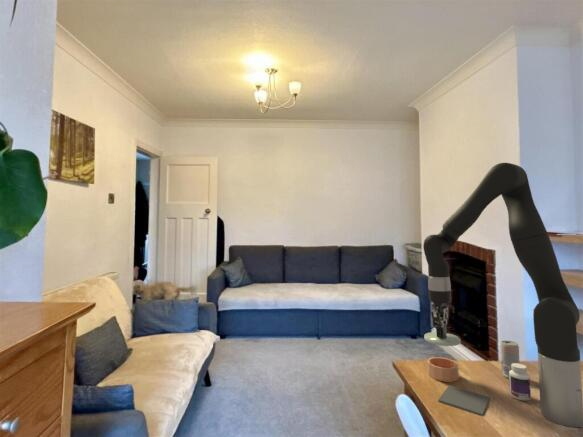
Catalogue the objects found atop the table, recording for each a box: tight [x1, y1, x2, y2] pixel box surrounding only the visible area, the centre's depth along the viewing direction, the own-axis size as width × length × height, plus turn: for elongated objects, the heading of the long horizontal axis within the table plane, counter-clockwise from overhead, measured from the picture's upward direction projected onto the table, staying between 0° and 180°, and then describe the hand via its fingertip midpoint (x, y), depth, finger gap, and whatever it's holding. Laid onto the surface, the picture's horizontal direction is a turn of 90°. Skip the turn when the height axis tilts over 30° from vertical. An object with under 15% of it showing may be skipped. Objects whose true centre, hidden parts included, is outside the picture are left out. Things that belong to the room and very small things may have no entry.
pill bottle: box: [508, 363, 532, 402], centre depth 100 cm, size 5×5×10 cm
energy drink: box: [500, 340, 521, 380], centre depth 113 cm, size 5×5×12 cm
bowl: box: [426, 356, 460, 383], centre depth 115 cm, size 10×10×5 cm
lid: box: [423, 322, 461, 347], centre depth 115 cm, size 12×12×6 cm
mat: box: [437, 384, 491, 417], centre depth 99 cm, size 12×12×1 cm
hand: (441, 335), depth 115 cm, fingers closed on lid, 3 cm apart
